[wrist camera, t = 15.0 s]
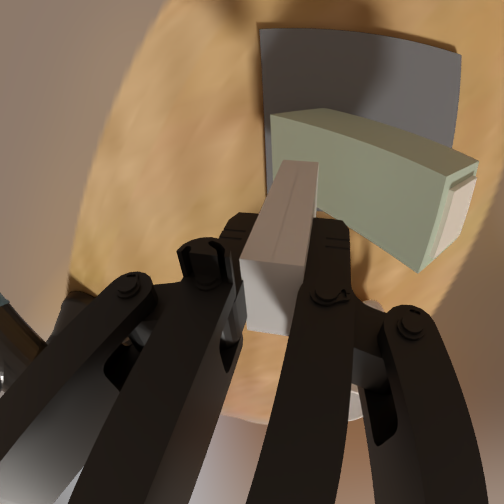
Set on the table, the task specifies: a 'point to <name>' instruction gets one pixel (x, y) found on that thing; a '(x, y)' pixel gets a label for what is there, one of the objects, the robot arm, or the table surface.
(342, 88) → the mat
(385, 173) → the block
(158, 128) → the table surface
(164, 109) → the table surface
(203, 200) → the table surface
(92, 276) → the table surface
